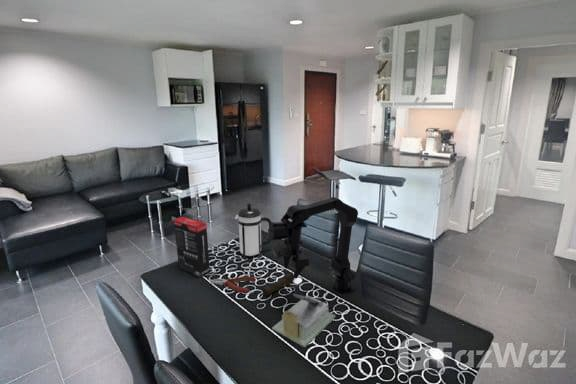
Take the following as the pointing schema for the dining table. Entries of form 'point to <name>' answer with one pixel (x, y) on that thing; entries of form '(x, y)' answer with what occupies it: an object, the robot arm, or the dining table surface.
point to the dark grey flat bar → (305, 298)
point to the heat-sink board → (304, 321)
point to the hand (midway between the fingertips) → (290, 273)
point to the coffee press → (251, 230)
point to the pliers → (230, 284)
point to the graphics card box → (192, 246)
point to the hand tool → (278, 284)
